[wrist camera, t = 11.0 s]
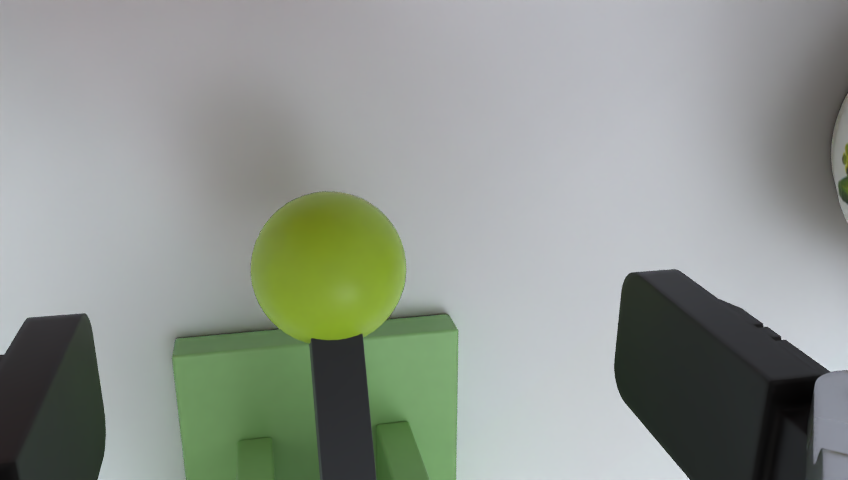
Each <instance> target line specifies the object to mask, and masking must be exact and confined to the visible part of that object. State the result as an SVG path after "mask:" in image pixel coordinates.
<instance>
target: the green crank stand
mask: <svg viewBox="0 0 848 480" xmlns="http://www.w3.org/2000/svg"><path fill="white" fill-rule="evenodd" d="M363 342H364V352H365V363H366V374H367V384H368V395H369V406H370V416H371V427H372V438H373V449H374V459H375V470H376V480H456V445H457V383H458V329H457V327H456V326H455V324H454V322H453V321H452V319H451V317H450V316H449V315H448V314H443V315H432V316H421V317H410V318H399V319H388V320H386V321H385V322H384V323H383V324H382V325H381V326H380V327H379V328H377V329H376V330H375V331H374V332H372V333H370V334H369V335H367V336H366V337H363ZM172 362H173V371H174V380H175V389H176V397H177V406H178V415H179V423H180V432H181V441H182V450H183V458H184V467H185V476H186V480H320V473H319V460H318V448H317V435H316V423H315V410H314V398H313V386H312V373H311V361H310V348H309V343H305V342H302V341H300V340H297V339H295V338H293V337H291V336H289V335H287V334H286V333H285V332H283V331H282V330H280V329H277V330H266V331H255V332H244V333H233V334H222V335H211V336H200V337H189V338H178V339H176V340H175V344H174V350H173V356H172Z"/></svg>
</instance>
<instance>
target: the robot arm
mask: <svg viewBox="0 0 848 480" xmlns="http://www.w3.org/2000/svg"><path fill="white" fill-rule="evenodd" d="M614 371H615V379H616V383H617V387H618V390H619V393H620V395H621V397H622V399H623V401H624V402H625V403H626V404H627V406H628V407H629V408H630V409H631V410H632V412H633V413H634V414H635V415H636V416H637V417H638V419H639V420H640V421H641V422H642V423H643V425H644V426H645V427H646V428H647V429H648V430H649V432H650V433H651V434H652V435H653V436H654V438H655V439H656V440H657V441H658V442H659V443H660V445H661V446H662V447H663V448H664V449H665V451H666V452H667V453H668V454H669V455H670V456H671V458H672V459H673V460H674V461H675V462H676V464H677V465H678V466H679V467H680V468H681V469H682V471H683V472H684V473H685V474H686V475H687V477H688V478H689V479H690V480H848V370H843V371H834V372H830V371H828V370H827V369H826V368H824V367H823V366H821V365H820V364H819V363H817V362H816V361H814V360H813V359H812V358H810V357H809V356H807V355H806V354H805V353H803V352H802V351H800V350H799V349H798V348H796V347H795V346H793V345H792V344H791V343H789V342H788V341H786V340H781V336H779V335H778V334H777V333H775V332H774V331H772V330H771V329H770V328H768V327H763V323H761V322H760V321H758V320H757V319H756V318H754V317H753V316H751V315H750V314H749V313H747V312H746V311H744V310H743V309H742V308H739V307H737V306H734V305H732V304H730V303H727V302H725V301H722V300H720V299H718V298H716V297H715V296H714V295H712V294H711V293H709V292H708V291H707V290H705V289H704V288H703V287H701V286H700V285H698V284H697V283H696V282H694V281H693V280H692V279H690V278H689V277H688V276H686V275H685V274H683V273H682V272H681V271H679V270H676V269H672V270H659V271H646V272H633V273H630V274H628V275H627V277H626V278H625V280H624V283H623V286H622V292H621V302H620V312H619V322H618V332H617V342H616V352H615V363H614ZM105 437H106V427H105V414H104V406H103V400H102V393H101V386H100V379H99V373H98V366H97V359H96V352H95V346H94V339H93V332H92V327H91V323H90V320H89V318H88V316H87V315H86V314H84V313H83V314H70V315H57V316H44V317H31V318H27V319H26V320H25V321H24V323H23V325H22V326H21V328H20V330H19V331H18V333H17V335H16V336H15V338H14V340H13V341H12V343H11V345H10V346H9V348H8V350H7V351H6V353H5V355H0V480H97V479H98V475H99V472H100V468H101V464H102V461H103V457H104V451H105Z"/></svg>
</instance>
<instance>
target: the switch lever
mask: <svg viewBox="0 0 848 480" xmlns="http://www.w3.org/2000/svg"><path fill="white" fill-rule="evenodd" d="M405 279H406V259H405V253H404V248H403V245H402V242H401V239H400V237H399V235H398V233H397V231H396V229H395V228H394V226H393V224H392V223H391V222H390V221H389V219H388V218H387V217H386V216H385V215H384V214H383V213H382V212H381V211H380V210H379V209H378V208H376V207H375V206H373V205H372V204H371V203H369V202H367V201H365V200H363V199H361V198H359V197H356V196H354V195H350V194H347V193H342V192H334V191H324V192H315V193H311V194H307V195H304V196H301V197H299V198H296V199H294V200H292V201H291V202H289V203H287V204H286V205H284V206H283V207H281V208H280V209H279V210H278V211H276V212H275V213H274V214H273V215H272V216H271V217H270V219H269V220H268V221H267V222H266V224H265V225H264V226H263V228H262V230H261V231H260V233H259V235H258V238H257V240H256V242H255V245H254V249H253V253H252V259H251V280H252V286H253V289H254V293H255V296H256V298H257V300H258V303H259V305H260V306H261V308H262V310H263V311H264V313H265V314H266V315H267V317H268V318H269V319H270V320H271V321H272V322H273V323H274V324H275V325H276V326H277V327H278V328H279V329H280V330H282V331H283V332H285V333H286V334H287V335H289V336H291V337H293V338H295V339H297V340H300V341H302V342H305V343H309V348H310V361H311V373H312V386H313V398H314V410H315V423H316V435H317V448H318V460H319V473H320V480H376V470H375V459H374V449H373V438H372V427H371V416H370V406H369V395H368V384H367V374H366V363H365V352H364V342H363V337H366V336H367V335H369V334H370V333H372V332H374V331H375V330H376V329H377V328H379V327H380V326H381V325H382V324H383V323H384V322H385V321H386V320H387V319H388V318H389V316H390V315H391V313H392V312H393V311H394V309H395V307H396V305H397V304H398V302H399V300H400V297H401V295H402V292H403V289H404V284H405Z"/></svg>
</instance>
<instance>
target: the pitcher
mask: <svg viewBox="0 0 848 480" xmlns="http://www.w3.org/2000/svg"><path fill="white" fill-rule="evenodd" d="M831 164H832V172H833V177H834V181H835V184H836V189H837V194H838V198H839V202H840V206H841V209H842V211H843V214H844V217H845V219H846V221H847V223H848V94H847V96H846V97H845V99H844V101H843V103H842V106H841V109H840V111H839V114H838V116H837V120H836V124H835V127H834V131H833V138H832V144H831Z"/></svg>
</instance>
